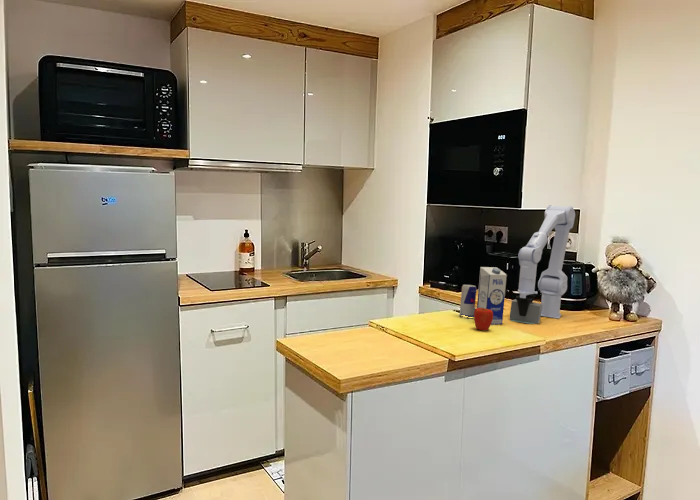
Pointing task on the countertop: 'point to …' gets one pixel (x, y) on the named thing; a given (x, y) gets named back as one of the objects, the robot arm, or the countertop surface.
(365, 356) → the countertop surface
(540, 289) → the robot arm
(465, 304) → the energy drink
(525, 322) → the tape square
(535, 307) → the grey rectangular box
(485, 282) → the milk carton
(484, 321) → the apple
